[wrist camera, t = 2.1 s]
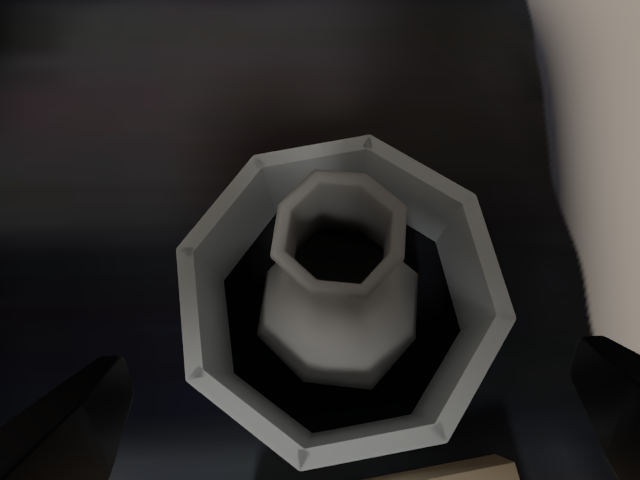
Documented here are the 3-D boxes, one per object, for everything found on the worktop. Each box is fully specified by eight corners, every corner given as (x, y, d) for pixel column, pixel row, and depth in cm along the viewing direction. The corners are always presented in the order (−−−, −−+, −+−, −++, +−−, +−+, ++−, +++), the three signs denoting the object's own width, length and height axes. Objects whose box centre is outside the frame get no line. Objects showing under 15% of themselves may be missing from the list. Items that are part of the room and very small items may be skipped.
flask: (230, 345, 19) (123, 307, 10) (301, 207, 21) (271, 61, 11) (382, 420, 18) (434, 462, 8) (442, 266, 20) (539, 157, 10)
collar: (498, 413, 18) (550, 423, 13) (229, 465, 17) (193, 491, 13) (428, 173, 21) (451, 120, 17) (204, 213, 21) (170, 169, 17)
